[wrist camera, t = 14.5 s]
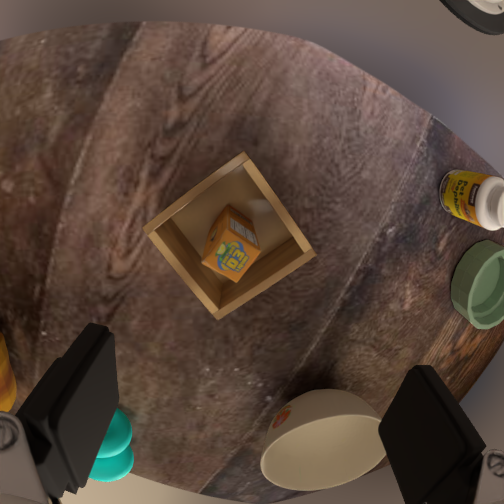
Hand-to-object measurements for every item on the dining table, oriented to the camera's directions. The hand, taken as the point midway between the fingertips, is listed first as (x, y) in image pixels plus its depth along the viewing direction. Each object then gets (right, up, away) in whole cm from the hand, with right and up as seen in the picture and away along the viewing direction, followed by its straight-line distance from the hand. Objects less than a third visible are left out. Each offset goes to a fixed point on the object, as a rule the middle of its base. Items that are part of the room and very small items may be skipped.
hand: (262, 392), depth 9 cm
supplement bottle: (+24, +11, +24) cm, 36 cm away
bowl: (+8, -17, +32) cm, 37 cm away
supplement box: (-2, +7, +24) cm, 25 cm away
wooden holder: (-2, +7, +24) cm, 25 cm away
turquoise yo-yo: (-23, -22, +33) cm, 46 cm away
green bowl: (+31, +1, +27) cm, 41 cm away
